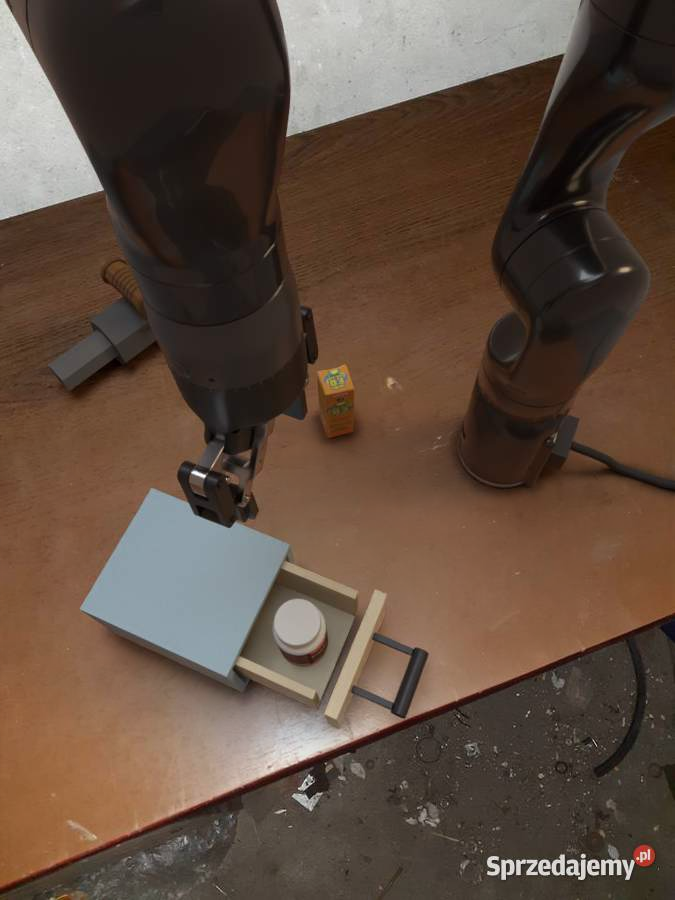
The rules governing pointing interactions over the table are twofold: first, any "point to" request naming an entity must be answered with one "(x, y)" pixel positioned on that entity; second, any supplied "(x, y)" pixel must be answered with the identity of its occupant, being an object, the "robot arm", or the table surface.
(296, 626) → the pill bottle
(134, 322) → the mechanical component
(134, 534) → the blue drawer cabinet
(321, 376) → the supplement box
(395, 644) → the drawer
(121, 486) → the table surface
